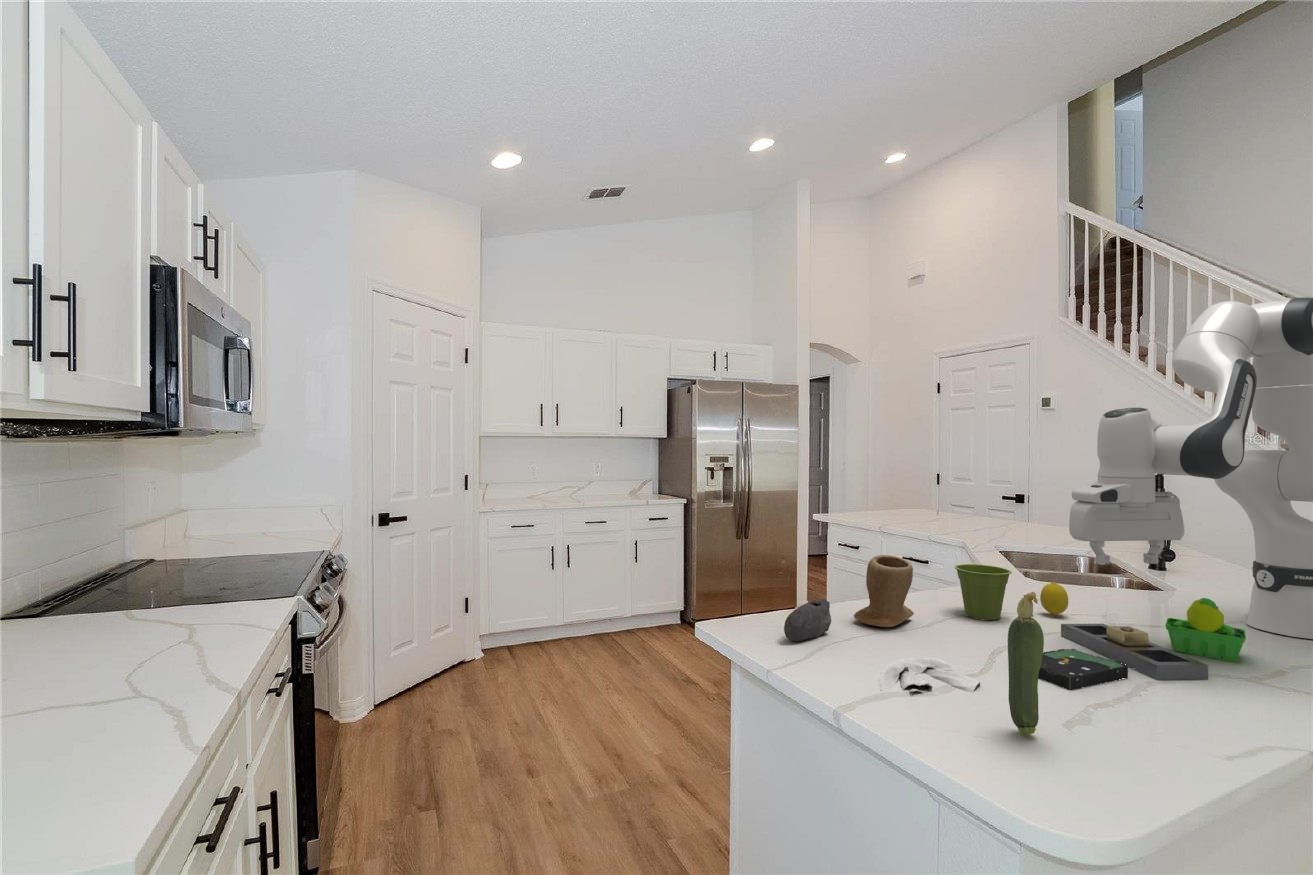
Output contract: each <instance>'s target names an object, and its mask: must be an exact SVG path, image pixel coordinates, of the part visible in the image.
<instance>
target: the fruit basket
mask: <svg viewBox="0 0 1313 875" xmlns="http://www.w3.org/2000/svg"><path fill="white" fill-rule="evenodd" d="M1186 616H1187V618H1186V619H1187V620H1186V619H1180V618H1173V617H1167V619H1166V622H1165V623H1164V624H1165V628H1166V630H1167V632H1168V635H1169V640H1170V643H1171V646H1172V651H1174V650H1175V651H1174V652H1177V651H1180V652H1179V653H1183V652H1185V653H1184V654H1189V653H1190V654H1189V655H1192V656H1193V655H1195V656H1199V655H1200V656H1201V657H1206V658H1210V659H1215V660H1223V661H1227V662H1231V663H1237V662H1238V659H1239V657H1240V654H1241V650H1242V647H1243V645H1244V643H1245V641H1246V639H1247V637H1246V630H1245V629H1243V628H1237V627H1232V626H1230V625H1227V624H1225V623H1224V622H1225V615H1224V614H1223V612H1222V611H1221V610H1220V609H1219V606H1217V604H1216V602H1214V601H1213V600H1212V599H1211V598H1207V597H1202V598H1199V599H1196V600H1194V601H1193V602H1192V603H1191V605H1190V606H1189V607H1188V609H1187V610H1186ZM1200 656H1199V657H1200Z"/></svg>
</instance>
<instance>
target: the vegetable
mask: <svg viewBox="0 0 1313 875" xmlns="http://www.w3.org/2000/svg"><path fill="white" fill-rule="evenodd" d="M1022 596H1023V597H1022V598H1020V600H1019V602H1018V603H1017V608H1016V613H1017V615H1018V616H1017V617H1015V618H1014V619H1013V620H1012V621H1011V623H1010V625H1009V627H1008V631H1007V661H1008V663H1007V664H1008V665H1007V666H1008V706H1009V711H1010V717H1011V721H1012V722H1013V724H1014V725H1015V726H1016V728H1017V730H1018V732H1019V733H1020V735H1021V736H1022V737H1023V738H1024V737H1026V736H1028V735H1032V734H1035V732H1036V730H1037V726H1038V725H1039V716H1040V715H1039V690H1038V688H1039V687H1038V686H1039V685H1038V684H1039V678H1038V675H1039V670H1040V667H1041V663H1042V656H1043V653H1044V646H1045V641H1044V640H1045V637H1044V633H1043V629H1042V627H1041V624H1040V623H1039V622H1038V621H1037V620H1036V619H1035V618H1033V617H1035V616H1034V603H1035V604H1038V598H1037V597H1038V595H1037V594H1036V592H1034V591H1031V592H1028V593H1026V594H1023V595H1022ZM1033 602H1034V603H1033Z"/></svg>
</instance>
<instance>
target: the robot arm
mask: <svg viewBox="0 0 1313 875" xmlns="http://www.w3.org/2000/svg"><path fill="white" fill-rule="evenodd" d="M1248 358H1252V363H1251V362H1249V360H1248ZM1247 360H1248V361H1247ZM1171 364H1172V365H1171V366H1172V369H1173V371H1174V374H1176V376H1177V377H1178V379H1180V380H1181V381H1182V382H1184V383H1185V384H1186V385H1188V386H1190V387H1192V388H1194V389H1196V390H1200V391H1204V392H1209V393H1212V394H1213V393H1214V394H1216V395H1215V400H1214V402H1213V407H1212V410H1211V413H1210V417H1209V418H1208V419H1206V420H1205V421H1202V422H1199V423H1195V424H1173V425H1172V424H1170V425H1169V424H1163V423H1161V422H1158V421H1156V420H1155V419H1153V418H1152V415H1151V412H1150V410H1149V409H1148V408H1145V407H1128V408H1127V407H1126V408H1119V409H1112V410H1109V411H1106V412H1105V413H1103V414H1102V415H1101V417H1100V420H1099V422H1098V423H1099V424H1098V430H1097V439H1096V441H1097V447H1096V448H1097V449H1096V450H1097V453H1096V454H1097V457H1098V460H1099V468H1098V471H1097V481H1094V482H1091V483H1089V484H1086V485H1084V486H1080V487H1077V488H1075V489H1073V490H1072V491H1071V498H1072V500H1074V502H1073V504H1072V505H1071V507H1070V510H1069V525H1068V528H1069V534H1070V536H1071V537H1072V538H1073V539H1074V540H1077V541H1081V542H1089V547H1090V549H1091V550H1092V551H1093V552H1094V554H1095V562H1096V564H1098V565H1102V566H1103V565H1110V564H1111V561H1110V560H1111V555H1108V554H1106V553H1105V551H1104V549H1103V548H1104V547H1105V543H1106V542H1127V541H1128V542H1133V541H1134V542H1138V541H1139V542H1140V541H1143V542H1144V541H1145V542H1146V541H1148V545H1150V547H1149V549H1148V550H1147V553H1143V554H1142V555H1143V562H1144V563H1145V564H1149V565H1157V564H1158V563H1159V555H1160V554H1161V552H1162V551H1163V549H1164V547H1165V541H1180V540H1182V538H1183V537H1184V535H1185V524H1184V520H1183V519H1184V518H1183V513H1182V509H1181V501H1180V497H1178V496H1177V495H1176V494H1174V493H1173V492H1171V491H1156V475H1157V474H1159V475H1169V476H1189V477H1197V478H1205V479H1212V480H1214V483H1215V484H1216V486H1217V487H1218V489H1220V490H1221V491H1222V492H1223V493H1224V494H1226V495H1227V496H1229V497H1231V498H1232V499H1233V500H1234V501H1235V502H1237V504H1238V505H1240V506H1241V508H1242V509H1243V510H1244V512H1245V513H1246V515H1247V517H1248V518H1249V521H1250V523H1251V526H1252V529H1253V530H1252V531H1253V538H1254V549H1255V550H1254V551H1255V556H1254V557H1255V559H1254V561H1252V567H1251V570H1252V577H1253V578H1254V583H1253V585H1252V589H1251V596H1250V601H1249V602H1250V603H1249V609H1248V610H1249V611H1248V612H1247V613H1246V616H1245V618H1246V621H1245V624H1246V625H1248V626H1250V627H1252V628H1255V629H1258V630H1262V631H1263V632H1264V631H1265V632H1269V633H1273V634H1278V635H1283V636H1288V637H1293V638H1300V639H1301V638H1302V639H1310V640H1313V520H1310V519H1308V518H1306V517H1304V516H1301V515H1299V514H1298V513H1297V512H1296V511H1295V509H1294V508H1293V506H1292V504H1291V503H1292V502H1305V503H1307V502H1309V503H1313V297H1294V298H1292V299H1285V300H1272V301H1266V302H1258V303H1254V304H1251V305H1249V304H1247V303H1245V302H1242V301H1241V302H1240V301H1237V300H1236V301H1235V300H1228V301H1227V300H1226V301H1220V302H1217V303H1214V304H1212V305H1211V306H1208V307H1207V308H1206V309H1205V310H1204V311H1203V312H1202V313H1201V314H1200V315H1198V317H1197V318H1196V319H1195V320H1194V322H1193V323H1192V325H1190V327H1189V328H1188V330H1187V331H1186V332H1185V334H1184V335H1183V337H1182V339H1181V341H1180V342H1179V343H1178V346H1177V347H1176V349H1175V351H1174V354H1173V357H1172V362H1171ZM1250 415H1251V416H1250ZM1250 417H1251V418H1252V421H1253V423H1254V424H1255V426H1257V427H1258V428H1259V429H1261V430H1263V431H1265V432H1268V433H1270V434H1274V435H1276V436H1279V437H1281V438H1282V439H1283V441H1285V443H1286V445H1287V447H1288V449H1287V450H1286V449H1275V450H1274V449H1272V450H1271V449H1249V450H1245V444H1246V442H1245V441H1246V432H1247V427H1248V423H1249V420H1250ZM1291 501H1292V502H1291Z"/></svg>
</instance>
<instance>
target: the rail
mask: <svg viewBox="0 0 1313 875" xmlns="http://www.w3.org/2000/svg"><path fill="white" fill-rule="evenodd" d="M1107 626H1109V625H1108V624H1105V623H1060V636H1061V637H1062V638H1065V639H1067V640H1070V641H1071V642H1073V641H1074V642H1073V643H1076V644H1078V645H1080V646H1083V647H1084V646H1085V647H1084V648H1087V649H1089V650H1092V651H1093V650H1094V651H1093V652H1096V653H1098V654H1099V655H1102V656H1104V657H1106V658H1107V659H1109V660H1113V659H1114V660H1113V661H1115V660H1116V661H1115V662H1117V661H1118V663H1119V662H1120V663H1122V664H1126V665H1128V666H1130V667H1131V668H1130V667H1129V668H1130V669H1132V668H1135V669H1136V670H1138V671H1137V672H1139V671H1140V672H1139V673H1141V674H1143V673H1144V675H1145V674H1146V675H1145V676H1147V675H1148V676H1147V677H1149V676H1150V678H1151V679H1154V678H1155V679H1154V680H1156V679H1157V681H1171V680H1172V681H1173V680H1174V681H1177V680H1178V681H1181V680H1186V681H1187V680H1189V681H1190V680H1191V681H1192V680H1193V681H1194V680H1199V681H1200V680H1209V664H1207V663H1204V662H1202V661H1199V660H1197V659H1194V658H1192V657H1189V656H1188V655H1187V656H1186V655H1184V654H1182V653H1180V652H1177V651H1174V650H1173V649H1169V648H1166V647H1163V646H1161V645H1158V644H1157V643H1153V642H1151V641H1149V640H1148V647H1142V648H1124V647H1121V646H1119V645H1117V644H1114V643H1112V642H1110V641H1107ZM1136 670H1135V671H1136Z"/></svg>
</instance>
